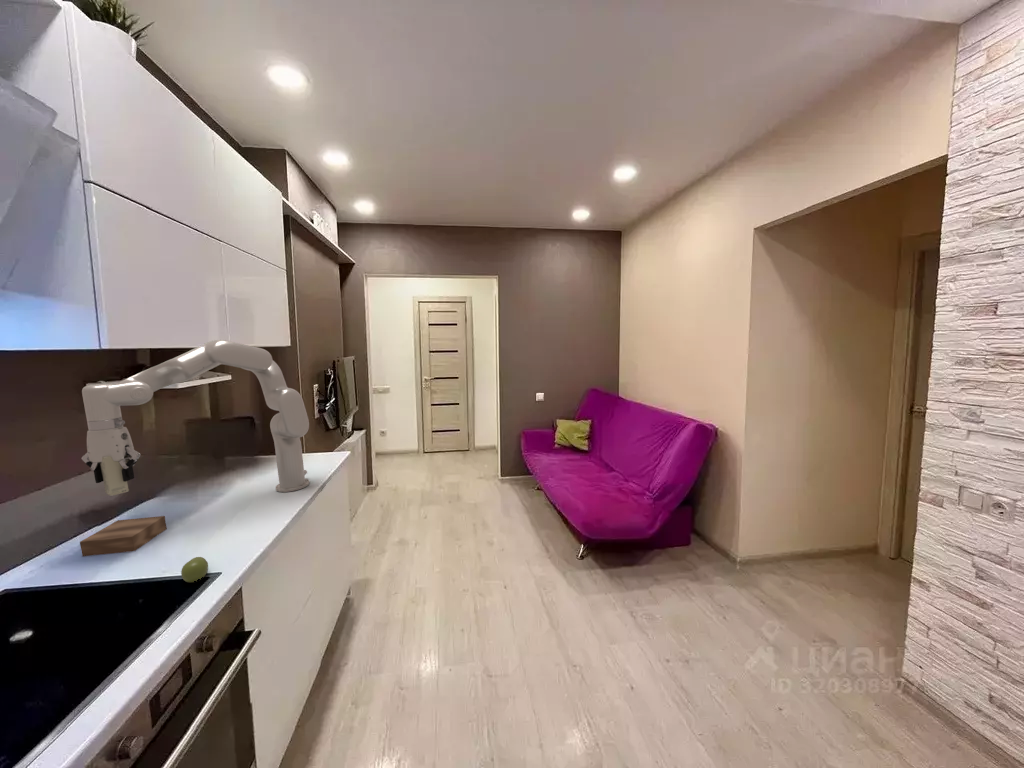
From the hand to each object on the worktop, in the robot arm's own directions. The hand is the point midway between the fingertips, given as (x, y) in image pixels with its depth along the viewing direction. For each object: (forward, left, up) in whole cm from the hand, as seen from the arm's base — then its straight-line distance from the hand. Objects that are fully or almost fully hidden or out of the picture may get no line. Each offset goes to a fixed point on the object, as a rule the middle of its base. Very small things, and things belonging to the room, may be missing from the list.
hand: (115, 480), depth 126 cm
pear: (+22, +36, -21) cm, 47 cm away
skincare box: (0, 0, -4) cm, 4 cm away
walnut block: (0, 0, -21) cm, 21 cm away
